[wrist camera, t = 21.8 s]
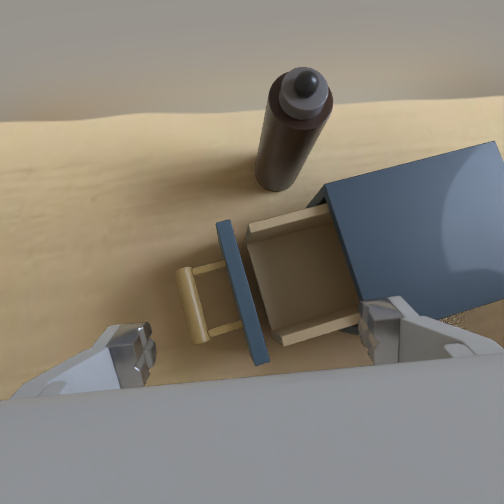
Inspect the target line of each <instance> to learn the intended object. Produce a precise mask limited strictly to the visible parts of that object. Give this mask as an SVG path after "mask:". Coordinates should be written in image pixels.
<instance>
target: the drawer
mask: <svg viewBox="0 0 504 504" xmlns="http://www.w3.org/2000/svg"><path fill="white" fill-rule="evenodd" d="M216 229H217V235H218V241H219V245H220V248H221V252H222V255H223V259H224V260H221V261H218V262H214V263H210V264H207V265H203V266H199V267H196V268H191V267H184V268H180V269H177V270H175V271H174V273H175V277H176V281H177V285H178V289H179V293H180V297H181V301H182V305H183V309H184V313H185V317H186V321H187V325H188V329H189V333H190V336H191V340H192V344H193V345H197V344H201V343H204V342H207V341H209V340H210V337H213V336H217V335H220V334H223V333H227V332H230V331H233V330H237V329H240V328H243V331H244V335H245V339H246V342H247V346H248V349H249V353H250V355H251V357H252V360H253V362H254V364H255V366H258V365H261V364H264V363H267V362H270V358H269V354H268V351H267V347H266V344H265V340H264V337H263V333H262V330H261V326H260V323H259V319H258V316H257V312H256V309H255V305H254V302H253V298H252V295H251V291H250V288H249V284H248V281H247V277H246V274H245V270H244V267H243V263H242V260H241V256H240V252H239V249H238V245H237V242H236V238H235V235H234V231H233V228H232V224H231V221H230V219H229V220H225V221H221V222H217V223H216ZM245 243H246V247H247V250H248V254H249V257H250V261H251V264H252V268H253V271H254V275H255V278H256V282H257V285H258V289H259V292H260V295H261V299H262V302H263V306H264V309H265V313H266V316H267V320H268V323H269V327H270V330H271V334H272V337H273V339H275V340H276V341H277V342H279V343H280V344H281V345H283V346H284V347H285V346H288V345H291V344H295V343H298V342H301V341H304V340H307V339H311V338H314V337H317V336H320V335H324V334H327V333H330V332H333V331H336V330H340V329H343V328H346V327H349V326H352V325H356V324H358V321H359V320H360V318H361V315H360V314H359V312H358V302H359V299H358V295H357V292H356V289H355V286H354V283H353V280H352V277H351V274H350V271H349V268H348V265H347V262H346V259H345V256H344V253H343V250H342V247H341V244H340V241H339V238H338V235H337V232H336V229H335V226H334V223H333V220H332V217H331V214H330V211H329V208H328V205H327V203H325V204H322V205H318V206H314V207H310V208H306V209H303V210H299V211H295V212H291V213H287V214H284V215H280V216H276V217H272V218H268V219H265V220H261V221H257V222H253V223H249V224H248V227H247V231H246V235H245ZM222 268H226V270H227V274H228V277H229V281H230V284H231V288H232V292H233V295H234V299H235V302H236V306H237V310H238V313H239V317H240V320H239V321H235V322H232V323H228V324H225V325H222V326H218V327H215V328H212V329H207V325H206V322H205V318H204V314H203V310H202V306H201V302H200V299H199V295H198V291H197V287H196V283H195V280H194V276H197V275H201V274H204V273H208V272H211V271H215V270H219V269H222Z"/></svg>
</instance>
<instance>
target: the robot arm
mask: <svg viewBox="0 0 504 504" xmlns="http://www.w3.org/2000/svg"><path fill="white" fill-rule="evenodd" d="M358 312H359V314H360V315H361V318H360V320H359V321H358V330H359V335H360V339H361V342H362V344H363V346H365V347H367V348H368V355H369V357H370V358H371V360H372V362H373V364H374V365H371V366H360V367H350V368H339V369H328V370H318V371H307V372H296V373H286V374H275V375H264V376H254V377H243V378H232V379H221V380H211V381H200V382H189V383H179V384H168V385H157V386H146V387H144V386H145V384H146V382H147V379H148V377H149V375H150V373H149V369H150V368H152V367H153V366H154V364H155V361H156V354H157V353H156V345H155V342H154V341H153V340H152V339H151V338H150V335H151V333H152V329H151V326H150V324H149V323H148V322H142V323H130V324H117V325H110V326H108V327H107V328H106V330H105V331H104V332H103V333H102V335H101V336H100V337H99V338H98V340H97V341H96V342H95V343H94V345H93V346H92V347H91V349H86V350H84V351H82V352H80V353H78V354H77V355H75V356H73V357H71V358H69V359H68V360H66V361H64V362H62V363H60V364H59V365H57V366H55V367H53V368H51V369H49V370H48V371H46V372H44V373H42V374H40V375H39V376H37V377H35V378H33V379H31V380H29V381H28V382H26V383H24V384H23V385H22V386H21V387H20V388H19V389H18V390H17V391H16V392H15V393H14V394H13V395H12V396H11V397H10V398H9V399H8V400H0V504H504V349H503V348H502V347H501V346H500V345H499V344H497V343H496V342H495V341H494V340H493V339H490V338H487V337H484V336H481V335H478V334H475V333H473V332H470V331H467V330H464V329H461V328H458V327H455V326H452V325H449V324H447V323H444V322H441V321H438V320H435V319H432V318H429V317H426V316H419V315H418V314H417V313H416V312H415V311H414V310H413V309H412V308H411V307H410V305H409V304H408V303H407V302H406V301H405V300H404V299H403V298H402V297H401V296H393V297H384V298H376V299H368V300H361V301H359V302H358Z"/></svg>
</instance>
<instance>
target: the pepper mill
mask: <svg viewBox="0 0 504 504" xmlns="http://www.w3.org/2000/svg"><path fill="white" fill-rule="evenodd" d="M332 108H333V97H332V93H331V91H330V89H329V87H328V85H327V82H326V80H325V78H324V77H323V76H322V75H321V74H320V73H319V72H318V71H316V70H314V69H311V68H307V67H299V68H295V69H293V70H291V71H290V72H287V73H284V74H283V75H281V76H280V77H278V78H277V79H276V80H275V82H274V83H273V84H272V86H271V88H270V91H269V96H268V101H267V106H266V112H265V117H264V122H263V127H262V132H261V138H260V143H259V148H258V153H257V159H256V164H255V176H256V179H257V181H258V182H259V183H260V185H261V186H263V187H264V188H266V189H268V190H270V191H283V190H286V189H287V188H289V187H290V186H291V185H292V184H293V183H294V181H295V180H296V178H297V176H298V174H299V172H300V170H301V168H302V166H303V165H304V163H305V161H306V159H307V157H308V155H309V153H310V152H311V150H312V148H313V146H314V144H315V142H316V140H317V138H318V137H319V135H320V133H321V131H322V129H323V127H324V125H325V124H326V122H327V120H328V118H329V116H330V114H331V112H332Z"/></svg>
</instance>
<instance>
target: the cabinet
mask: <svg viewBox="0 0 504 504" xmlns="http://www.w3.org/2000/svg"><path fill="white" fill-rule="evenodd" d="M325 203H327V205H328V208H329V211H330V214H331V217H332V220H333V223H334V226H335V229H336V232H337V235H338V238H339V241H340V244H341V247H342V250H343V253H344V256H345V259H346V262H347V265H348V268H349V271H350V274H351V277H352V280H353V283H354V286H355V289H356V292H357V295H358V299H359V301H361V300H368V299H376V298H384V297H393V296H401V297H402V298H403V299H404V300H405V301H406V302H407V303H408V304H409V305H410V307H411V308H412V309H413V310H414V311H415V312H416V313H417V314H418V315H419V316H426V317H429V318H432V319H435V320H439V319H442V318H445V317H448V316H451V315H455V314H458V313H461V312H464V311H467V310H470V309H473V308H476V307H480V306H483V305H486V304H489V303H492V302H495V301H498V300H502V299H504V162H503V159H502V157H501V154H500V152H499V150H498V147H497V145H496V142H495V141H491V142H487V143H484V144H480V145H476V146H472V147H468V148H464V149H460V150H456V151H452V152H448V153H444V154H441V155H437V156H433V157H429V158H425V159H421V160H417V161H413V162H409V163H405V164H401V165H397V166H394V167H390V168H386V169H382V170H378V171H374V172H370V173H366V174H362V175H358V176H354V177H351V178H347V179H343V180H339V181H335V182H331V183H327V184H324V186H323V187H322V188H321V189H320V191H319V192H318V193H317V194H316V196H315V197H314V198H313V199H312V201H311V202H310V203H309V204H308V206H307V207H306V208H310V207H314V206H318V205H322V204H325ZM306 208H305V209H306ZM339 331H343V332H347V333H351V334H355V335H359V330H358V324H356V325H352V326H349V327H346V328H343V329H340V330H339Z"/></svg>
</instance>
